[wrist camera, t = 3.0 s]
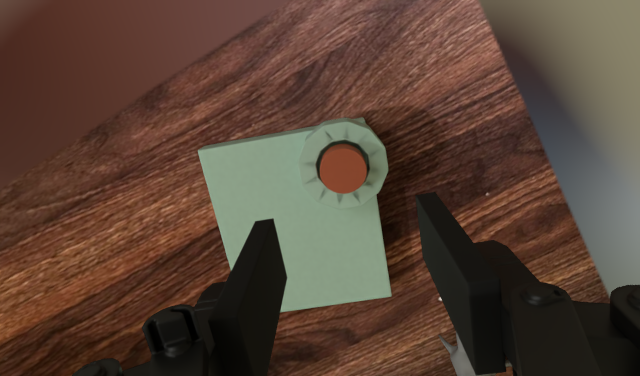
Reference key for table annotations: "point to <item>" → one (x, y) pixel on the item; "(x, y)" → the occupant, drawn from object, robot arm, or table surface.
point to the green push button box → (305, 210)
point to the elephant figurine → (462, 359)
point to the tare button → (343, 168)
